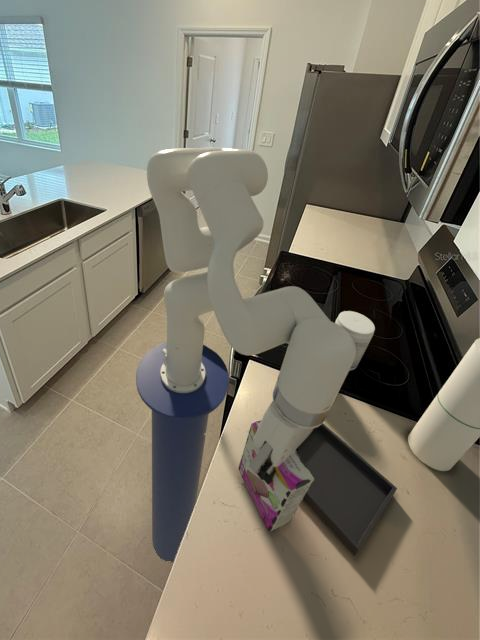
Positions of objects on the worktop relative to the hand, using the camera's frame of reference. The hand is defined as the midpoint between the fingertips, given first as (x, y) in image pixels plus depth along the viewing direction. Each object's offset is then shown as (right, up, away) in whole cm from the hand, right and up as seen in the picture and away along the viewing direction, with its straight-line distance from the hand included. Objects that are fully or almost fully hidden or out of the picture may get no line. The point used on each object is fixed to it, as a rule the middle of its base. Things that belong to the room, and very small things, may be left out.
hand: (275, 462), depth 52 cm
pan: (+14, -10, +10) cm, 20 cm away
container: (+39, -8, +16) cm, 43 cm away
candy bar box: (-1, -10, +6) cm, 12 cm away
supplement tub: (+30, +5, +38) cm, 49 cm away
